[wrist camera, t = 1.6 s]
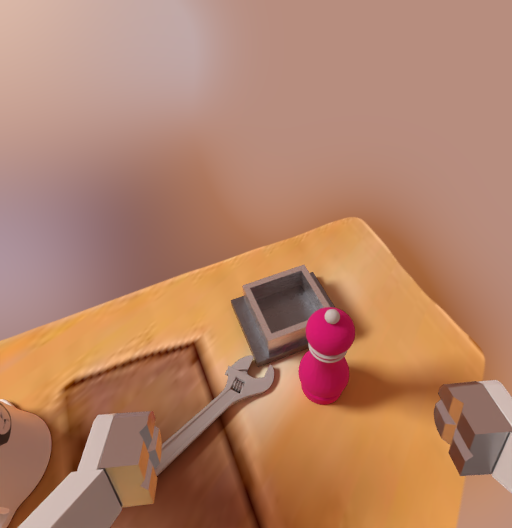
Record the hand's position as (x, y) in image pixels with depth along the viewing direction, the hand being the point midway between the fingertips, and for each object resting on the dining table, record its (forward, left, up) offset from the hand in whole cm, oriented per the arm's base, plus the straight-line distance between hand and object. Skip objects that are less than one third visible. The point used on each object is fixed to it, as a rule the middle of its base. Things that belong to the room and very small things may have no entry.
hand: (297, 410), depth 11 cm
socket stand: (+13, +31, -48) cm, 59 cm away
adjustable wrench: (-5, +20, -48) cm, 52 cm away
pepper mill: (+13, +18, -48) cm, 53 cm away
